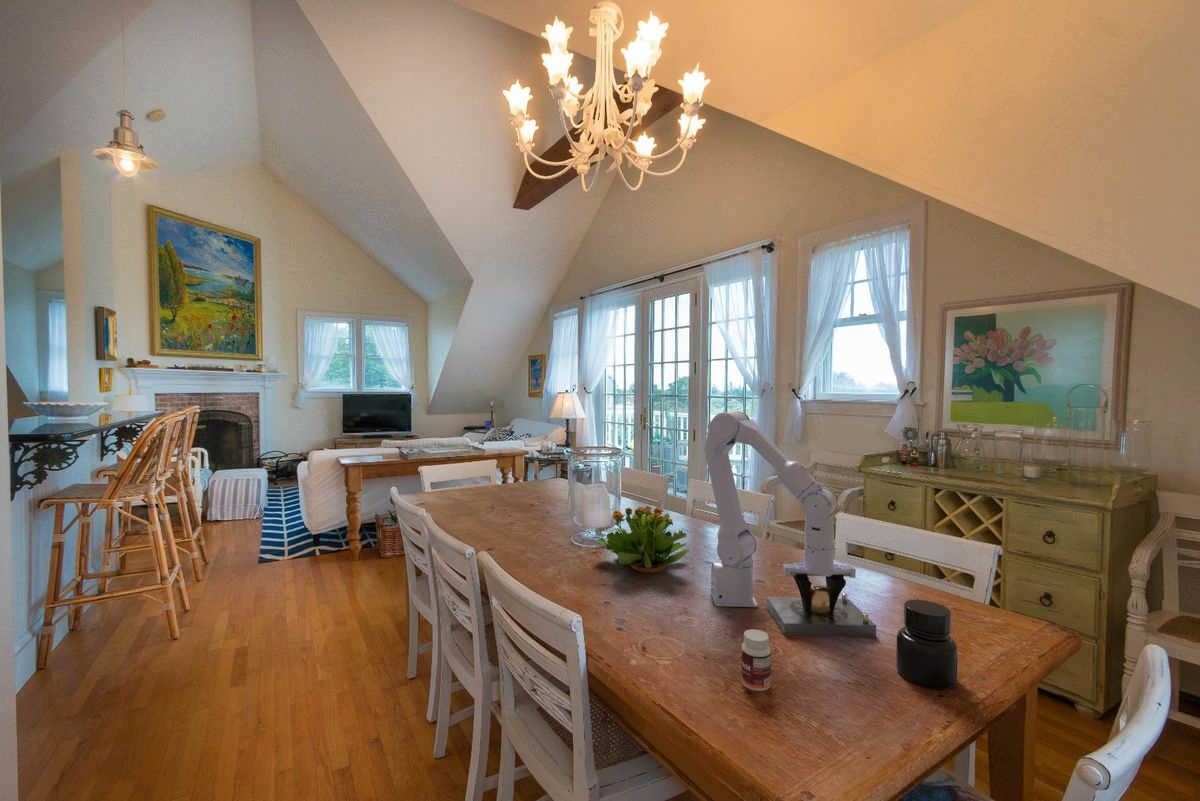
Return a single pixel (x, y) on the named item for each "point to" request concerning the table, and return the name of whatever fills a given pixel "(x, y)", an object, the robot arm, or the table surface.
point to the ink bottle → (927, 646)
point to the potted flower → (645, 540)
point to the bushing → (819, 600)
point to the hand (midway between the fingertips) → (818, 609)
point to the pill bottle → (756, 660)
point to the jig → (820, 619)
